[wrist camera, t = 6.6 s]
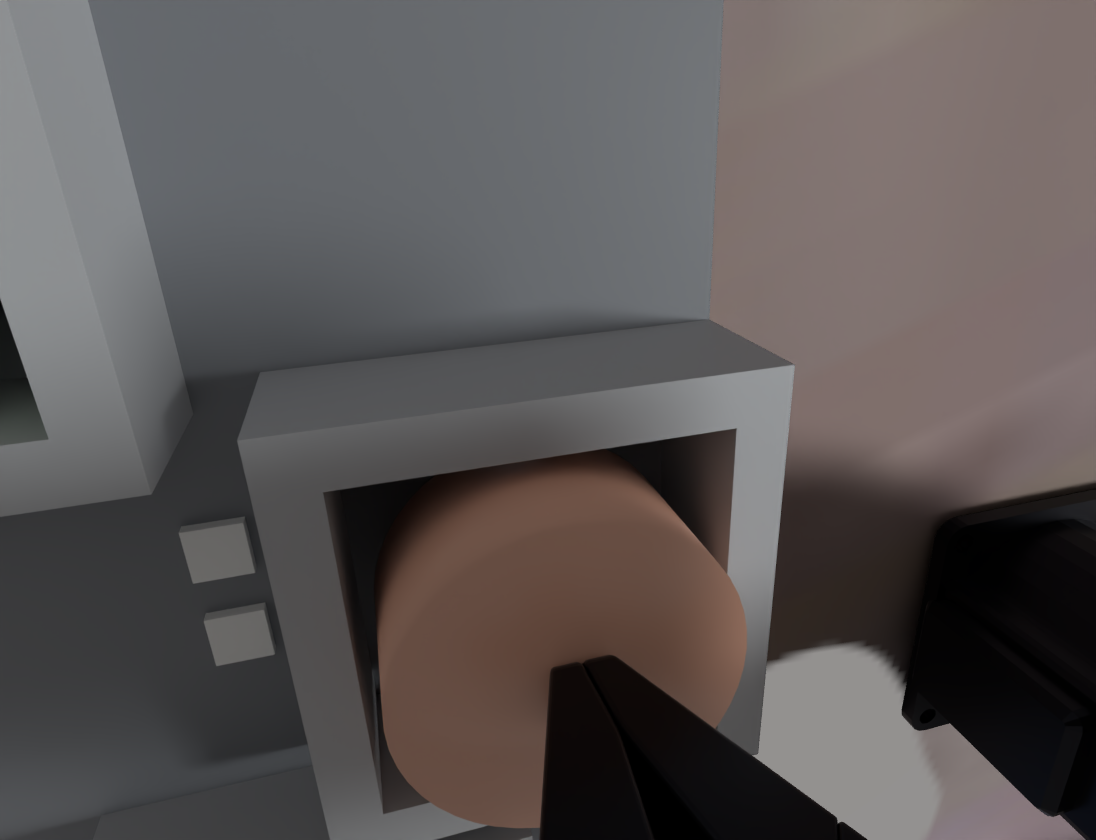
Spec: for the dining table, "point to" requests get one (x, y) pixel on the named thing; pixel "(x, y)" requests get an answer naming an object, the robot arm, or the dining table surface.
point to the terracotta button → (536, 619)
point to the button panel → (330, 370)
